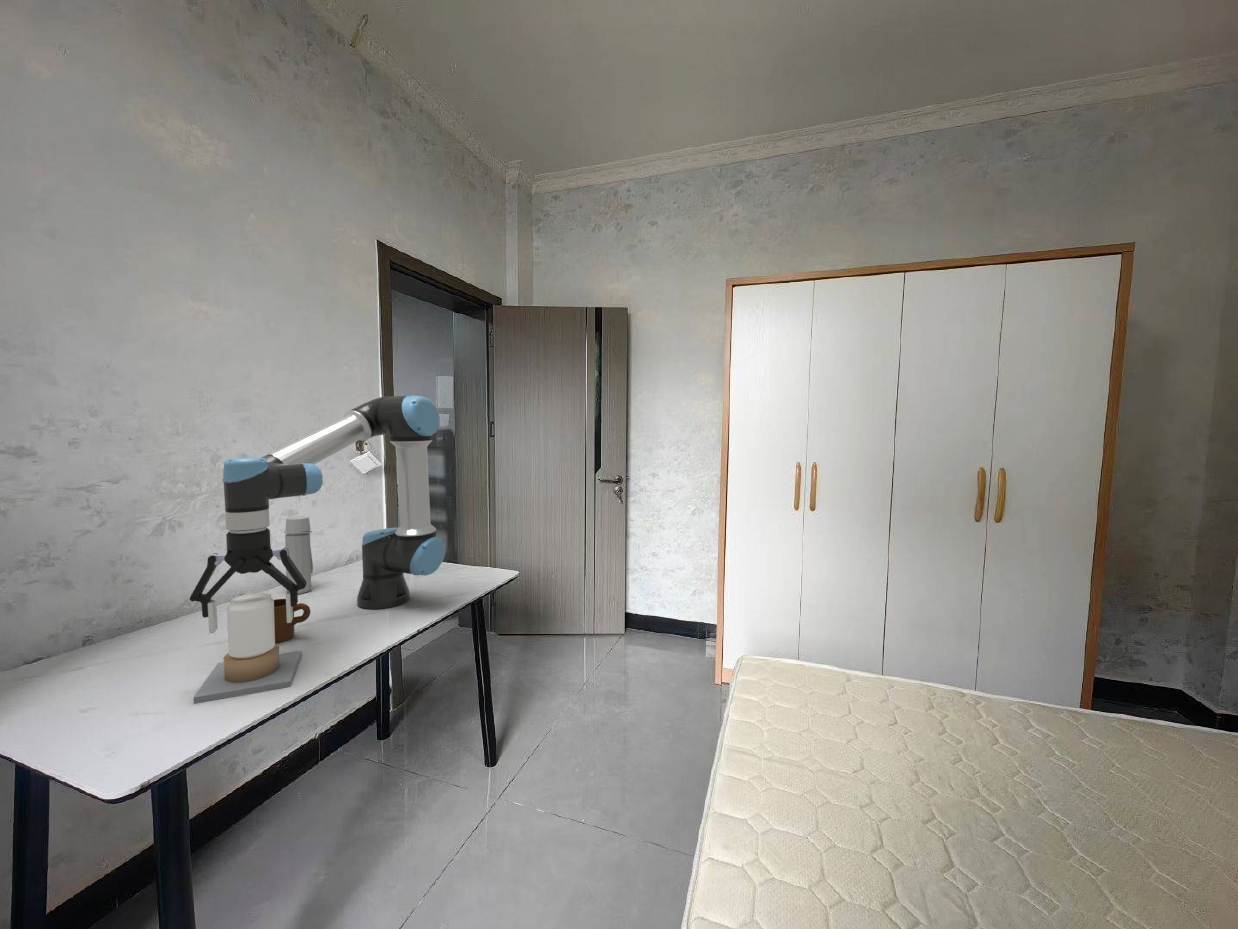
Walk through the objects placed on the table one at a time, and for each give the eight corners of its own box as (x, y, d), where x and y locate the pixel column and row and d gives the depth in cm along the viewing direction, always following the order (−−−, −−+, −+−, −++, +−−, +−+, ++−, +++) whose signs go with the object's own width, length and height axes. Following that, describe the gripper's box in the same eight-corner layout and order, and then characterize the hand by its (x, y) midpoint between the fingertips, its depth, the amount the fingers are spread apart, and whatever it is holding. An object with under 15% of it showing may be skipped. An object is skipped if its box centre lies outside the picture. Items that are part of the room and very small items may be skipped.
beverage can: (245, 644, 111) (243, 592, 110) (283, 643, 111) (281, 591, 111) (219, 661, 103) (217, 604, 102) (260, 660, 103) (258, 604, 103)
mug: (317, 631, 132) (317, 597, 131) (303, 643, 124) (302, 607, 124) (269, 633, 131) (269, 598, 130) (252, 645, 123) (250, 608, 122)
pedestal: (301, 655, 118) (300, 632, 118) (290, 686, 104) (289, 660, 103) (218, 668, 111) (217, 644, 111) (193, 703, 97) (192, 675, 96)
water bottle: (300, 596, 160) (298, 520, 158) (279, 594, 162) (277, 519, 160) (322, 587, 169) (320, 515, 167) (302, 585, 171) (301, 514, 169)
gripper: (318, 522, 114) (321, 611, 116) (180, 531, 103) (185, 629, 105) (314, 528, 107) (317, 622, 109) (165, 538, 97) (172, 642, 98)
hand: (252, 626), depth 107 cm, fingers open, 13 cm apart
